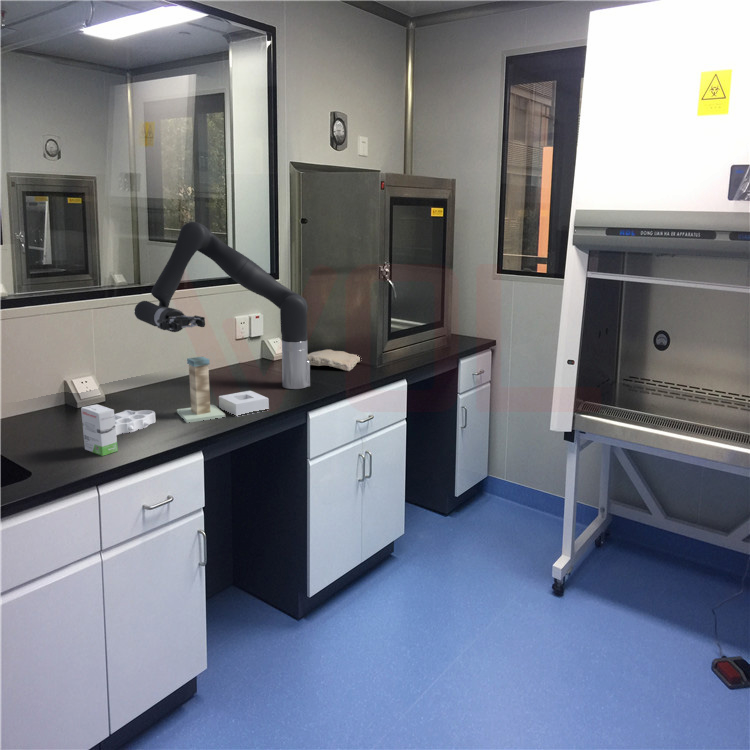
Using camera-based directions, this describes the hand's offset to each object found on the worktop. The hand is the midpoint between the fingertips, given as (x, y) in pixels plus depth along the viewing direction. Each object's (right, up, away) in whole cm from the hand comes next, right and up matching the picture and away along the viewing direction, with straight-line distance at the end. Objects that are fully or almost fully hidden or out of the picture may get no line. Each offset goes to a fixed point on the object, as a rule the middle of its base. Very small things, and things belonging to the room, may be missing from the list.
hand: (190, 325), depth 211 cm
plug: (+3, -27, -1) cm, 27 cm away
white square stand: (+15, -27, +6) cm, 31 cm away
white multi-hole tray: (-16, -31, -12) cm, 37 cm away
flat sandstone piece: (+38, -12, +68) cm, 79 cm away
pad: (+3, -28, 0) cm, 28 cm away
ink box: (-15, -36, -32) cm, 50 cm away
